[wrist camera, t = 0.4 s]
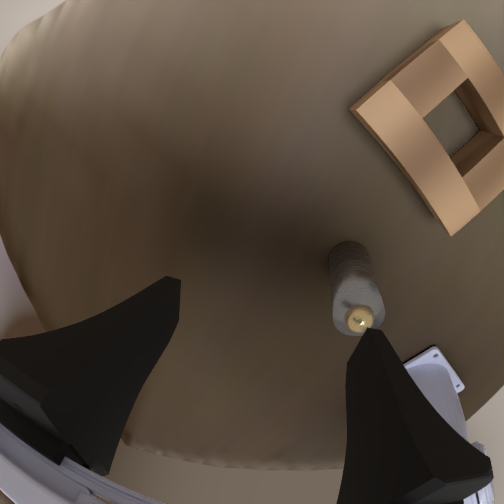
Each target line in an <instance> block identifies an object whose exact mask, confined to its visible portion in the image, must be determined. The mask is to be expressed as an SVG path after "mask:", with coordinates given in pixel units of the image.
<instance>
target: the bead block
mask: <svg viewBox="0 0 504 504" xmlns="http://www.w3.org/2000/svg"><path fill="white" fill-rule="evenodd" d="M453 91H455V92H456V94H457V95H458V96H459V98H460V99H461V101H462V102H463V104H464V105H465V107H466V108H467V110H468V111H469V113H470V114H471V116H472V118H473V119H474V121H475V122H476V124H477V126H478V127H479V129H480V131H479V132H478V133H477V134H476V135H475V136H474V137H473V138H472V139H471V140H470V141H468V142H467V143H466V144H465V145H464V146H463V147H462V148H461V149H460V150H459V151H458V152H456V153H455V154H454V155H453V156H452V157H451V158H450V157H449V156H448V154H447V153H446V151H445V150H444V148H443V147H442V145H441V144H440V142H439V141H438V140H437V138H436V137H435V135H434V134H433V132H432V131H431V130H430V128H429V127H428V126H427V124H426V123H425V122H424V120H423V119H422V118H423V117H424V116H426V115H427V114H428V113H429V112H430V111H431V110H432V109H433V108H435V107H436V106H437V105H438V104H439V103H440V102H441V101H442V100H444V99H445V98H446V97H447V96H448V95H449V94H450V93H451V92H453ZM349 110H350V111H351V112H352V114H353V115H354V116H355V117H356V118H357V119H358V120H359V121H360V122H361V123H362V124H363V126H364V127H365V128H366V129H367V130H368V131H369V132H370V134H371V135H372V136H373V137H374V138H375V139H376V141H377V142H378V143H379V144H380V145H381V146H382V148H383V149H384V150H385V151H386V153H387V154H388V155H389V156H390V157H391V159H392V160H393V161H394V163H395V164H396V165H397V166H398V168H399V169H400V170H401V172H402V173H403V174H404V175H405V177H406V178H407V179H408V181H409V182H410V184H411V185H412V186H413V188H414V189H415V190H416V192H417V193H418V195H419V196H420V197H421V199H422V200H423V202H424V203H425V205H426V206H427V208H428V209H429V211H430V212H431V214H432V215H433V217H434V218H435V219H436V220H437V221H438V222H439V223H440V225H441V226H442V227H443V228H444V229H445V230H446V231H447V232H448V234H449V235H450V236H452V235H454V234H455V233H456V232H457V231H458V230H459V229H461V228H462V227H463V226H464V225H465V224H466V223H468V222H469V221H470V220H471V219H472V218H473V217H474V216H475V215H477V214H478V213H479V212H480V211H481V210H482V209H483V208H484V207H485V206H486V205H488V204H489V203H490V202H491V201H492V200H493V199H494V198H495V197H496V196H497V195H498V194H499V193H500V192H501V191H502V190H503V189H504V75H503V73H502V71H501V70H500V68H499V67H498V65H497V64H496V62H495V61H494V59H493V58H492V56H491V55H490V53H489V52H488V50H487V49H486V48H485V46H484V45H483V43H482V42H481V41H480V39H479V38H478V37H477V35H476V34H475V33H474V31H473V30H472V29H471V28H470V26H469V25H468V24H467V23H466V21H465V20H464V19H463V20H461V21H459V22H456V23H454V24H452V25H450V26H447V27H445V28H443V29H442V30H441V31H439V32H438V33H437V34H436V35H434V36H433V37H432V38H431V39H429V40H428V41H427V42H426V43H425V44H423V45H422V46H421V47H420V48H418V49H417V50H416V51H415V52H414V53H412V54H411V55H410V56H409V57H408V58H406V59H405V60H404V61H403V62H402V63H400V64H399V65H398V66H397V67H396V68H395V69H393V70H392V71H391V72H390V73H389V74H388V75H386V76H385V77H384V78H383V79H382V80H381V81H379V82H378V83H377V84H376V85H375V86H374V87H373V88H371V89H370V90H369V91H368V92H367V93H366V94H365V95H363V96H362V97H361V98H360V99H359V100H358V101H357V102H355V103H354V104H353V105H352V106H351V107H350V108H349Z"/></svg>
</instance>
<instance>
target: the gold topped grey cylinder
mask: <svg viewBox="0 0 504 504" xmlns="http://www.w3.org/2000/svg"><path fill="white" fill-rule="evenodd" d="M329 267H330V280H331V294H332V311H333V322H334V325H335V327H336V328H337V329H338V330H339V331H340V332H342V333H344V334H346V335H350V336H362V335H363V334H364V333H365V331H366V329H367V327H368V328H373V329H377V328H378V327H379V326H380V325H381V324H382V322H383V320H384V317H385V308H384V304H383V301H382V297H381V294H380V290H379V287H378V283H377V280H376V277H375V273H374V270H373V267H372V264H371V261H370V257H369V254H368V252H367V250H366V248H365V247H364V246H363V245H361V244H359V243H357V242H352V241H348V242H343V243H341V244H339V245H337V246H336V247H335V248H334V249H333V250H332V252H331V254H330V256H329Z"/></svg>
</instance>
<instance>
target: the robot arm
mask: <svg viewBox="0 0 504 504" xmlns="http://www.w3.org/2000/svg"><path fill="white" fill-rule="evenodd" d="M180 288H181V280H179V279H175V278H172V277H168V276H165V277H164V278H162V279H160V280H158V281H157V282H155V283H153V284H152V285H150V286H149V287H147V288H145V289H144V290H142V291H140V292H139V293H137V294H135V295H134V296H132V297H130V298H129V299H127V300H125V301H123V302H122V303H120V304H118V305H116V306H114V307H112V308H110V309H108V310H106V311H104V312H102V313H100V314H98V315H96V316H94V317H91V318H89V319H86V320H84V321H81V322H79V323H76V324H73V325H70V326H67V327H63V328H60V329H57V330H54V331H50V332H46V333H41V334H37V335H33V336H26V337H19V338H11V339H2V340H1V341H0V490H1V491H2V492H3V493H4V494H6V495H7V496H8V497H9V498H10V499H11V500H12V501H13V502H14V503H16V504H106V503H104V502H102V501H100V500H98V499H97V498H95V496H94V494H95V495H97V496H99V497H101V498H103V499H106V500H107V501H109V502H112V503H114V504H165V503H163V502H160V501H157V500H155V499H152V498H149V497H147V496H144V495H142V494H139V493H137V492H134V491H132V490H130V489H127V488H125V487H123V486H121V485H118V484H116V483H114V482H112V481H110V480H108V479H106V478H104V477H102V476H105V475H108V474H109V471H110V468H111V464H112V461H113V458H114V455H115V452H116V449H117V446H118V443H119V440H120V438H121V435H122V432H123V430H124V427H125V425H126V422H127V420H128V417H129V415H130V412H131V410H132V408H133V405H134V403H135V401H136V399H137V396H138V394H139V392H140V390H141V388H142V386H143V384H144V383H145V381H146V379H147V378H148V376H149V374H150V373H151V371H152V369H153V368H154V366H155V364H156V363H157V361H158V360H159V358H160V356H161V355H162V353H163V351H164V350H165V348H166V346H167V345H168V343H169V341H170V339H171V337H172V335H173V333H174V330H175V328H176V326H177V323H178V321H179V307H180ZM463 389H464V384H463V383H462V381H461V380H460V378H459V377H458V375H457V374H456V372H455V371H454V370H453V368H452V367H451V365H450V364H449V363H448V361H447V360H446V358H445V357H444V356H443V354H442V353H441V352H440V350H439V349H438V347H436V346H434V347H431V348H429V349H428V350H426V351H425V352H423V353H421V354H420V355H418V356H417V357H415V358H413V359H412V360H410V361H408V362H406V363H405V364H403V363H402V362H401V360H400V359H399V357H398V355H397V354H396V352H395V351H394V349H393V347H392V346H391V344H390V342H389V341H388V339H387V338H386V336H385V335H384V333H383V332H382V330H378V329H373V328H368V327H367V329H366V331H365V333H364V334H363V336H362V338H361V340H360V342H359V343H358V345H357V347H356V349H355V350H354V352H353V354H352V355H351V357H350V359H349V361H348V362H347V372H346V410H347V447H346V456H345V464H344V470H343V476H342V482H341V486H340V491H339V495H338V500H337V504H494V489H493V482H492V479H493V471H492V466H491V461H490V458H489V457H488V456H487V454H486V450H485V447H484V445H483V444H479V443H478V442H475V443H472V444H470V443H469V442H468V430H467V426H466V422H465V418H464V414H463V411H462V407H461V404H460V400H459V397H458V394H457V393H459V392H460V391H462V390H463Z"/></svg>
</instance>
